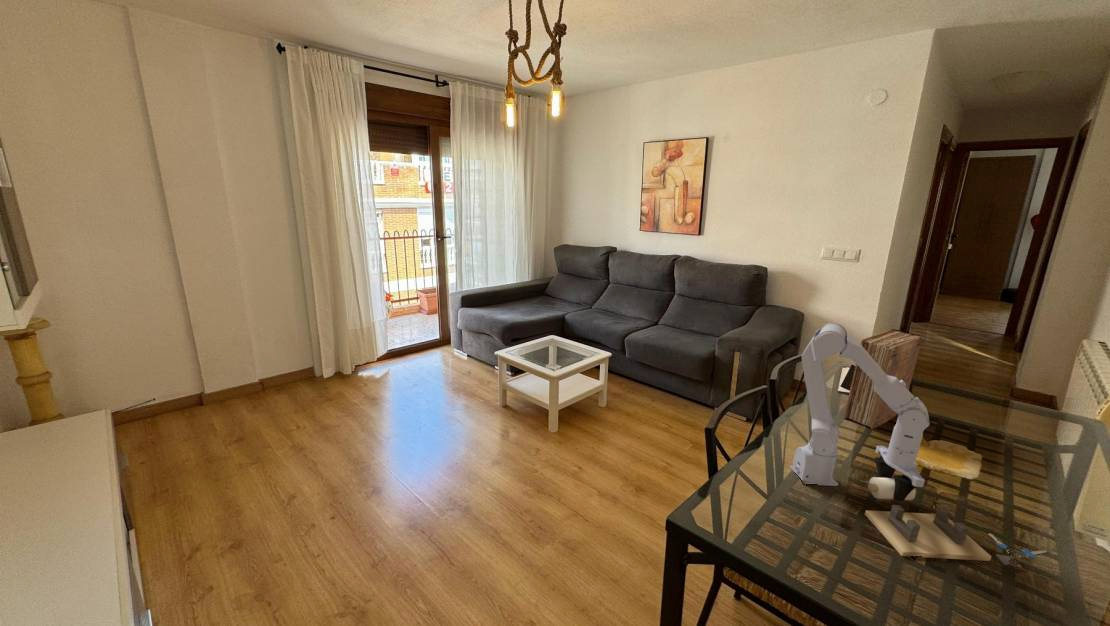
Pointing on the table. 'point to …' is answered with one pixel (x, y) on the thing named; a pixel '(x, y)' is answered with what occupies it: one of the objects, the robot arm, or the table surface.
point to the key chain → (1007, 558)
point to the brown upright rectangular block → (894, 359)
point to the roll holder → (926, 534)
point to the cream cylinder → (885, 488)
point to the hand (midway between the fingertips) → (890, 492)
